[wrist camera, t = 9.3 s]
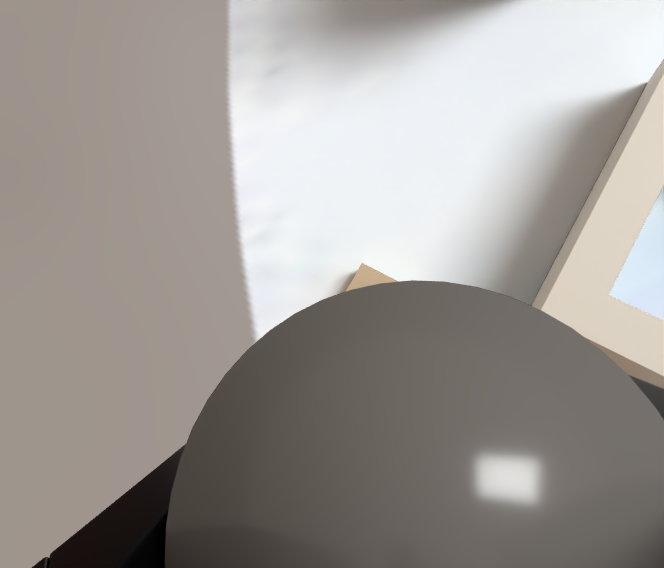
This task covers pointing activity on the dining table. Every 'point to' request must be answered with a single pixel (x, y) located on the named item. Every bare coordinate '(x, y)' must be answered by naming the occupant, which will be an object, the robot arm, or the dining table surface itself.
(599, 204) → the holder
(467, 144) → the dining table surface
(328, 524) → the jar
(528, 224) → the dining table surface
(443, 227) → the dining table surface
